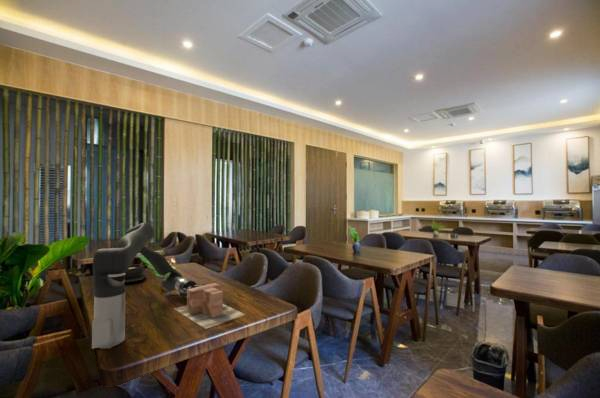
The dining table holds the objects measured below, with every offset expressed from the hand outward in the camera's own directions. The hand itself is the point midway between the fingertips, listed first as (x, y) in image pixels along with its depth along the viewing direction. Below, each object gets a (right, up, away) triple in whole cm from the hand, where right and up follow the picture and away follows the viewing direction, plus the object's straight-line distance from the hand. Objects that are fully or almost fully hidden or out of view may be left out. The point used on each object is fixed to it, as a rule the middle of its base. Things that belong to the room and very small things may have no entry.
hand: (201, 293), depth 131 cm
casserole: (-63, -7, +48) cm, 79 cm away
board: (+5, -7, -5) cm, 10 cm away
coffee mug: (-54, -7, +23) cm, 59 cm away
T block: (+5, -6, -5) cm, 9 cm away
